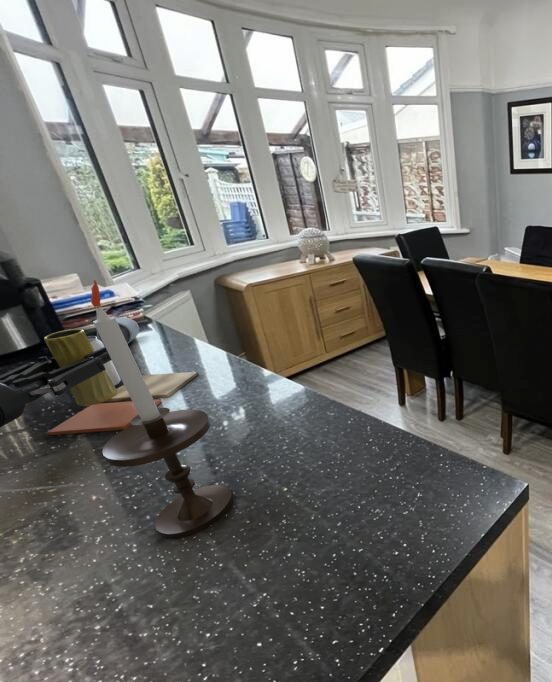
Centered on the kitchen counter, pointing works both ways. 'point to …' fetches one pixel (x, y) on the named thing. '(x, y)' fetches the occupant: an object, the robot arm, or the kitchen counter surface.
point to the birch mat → (159, 385)
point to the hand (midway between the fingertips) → (101, 349)
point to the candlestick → (159, 440)
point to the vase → (74, 348)
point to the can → (109, 365)
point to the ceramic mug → (126, 329)
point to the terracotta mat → (99, 418)
